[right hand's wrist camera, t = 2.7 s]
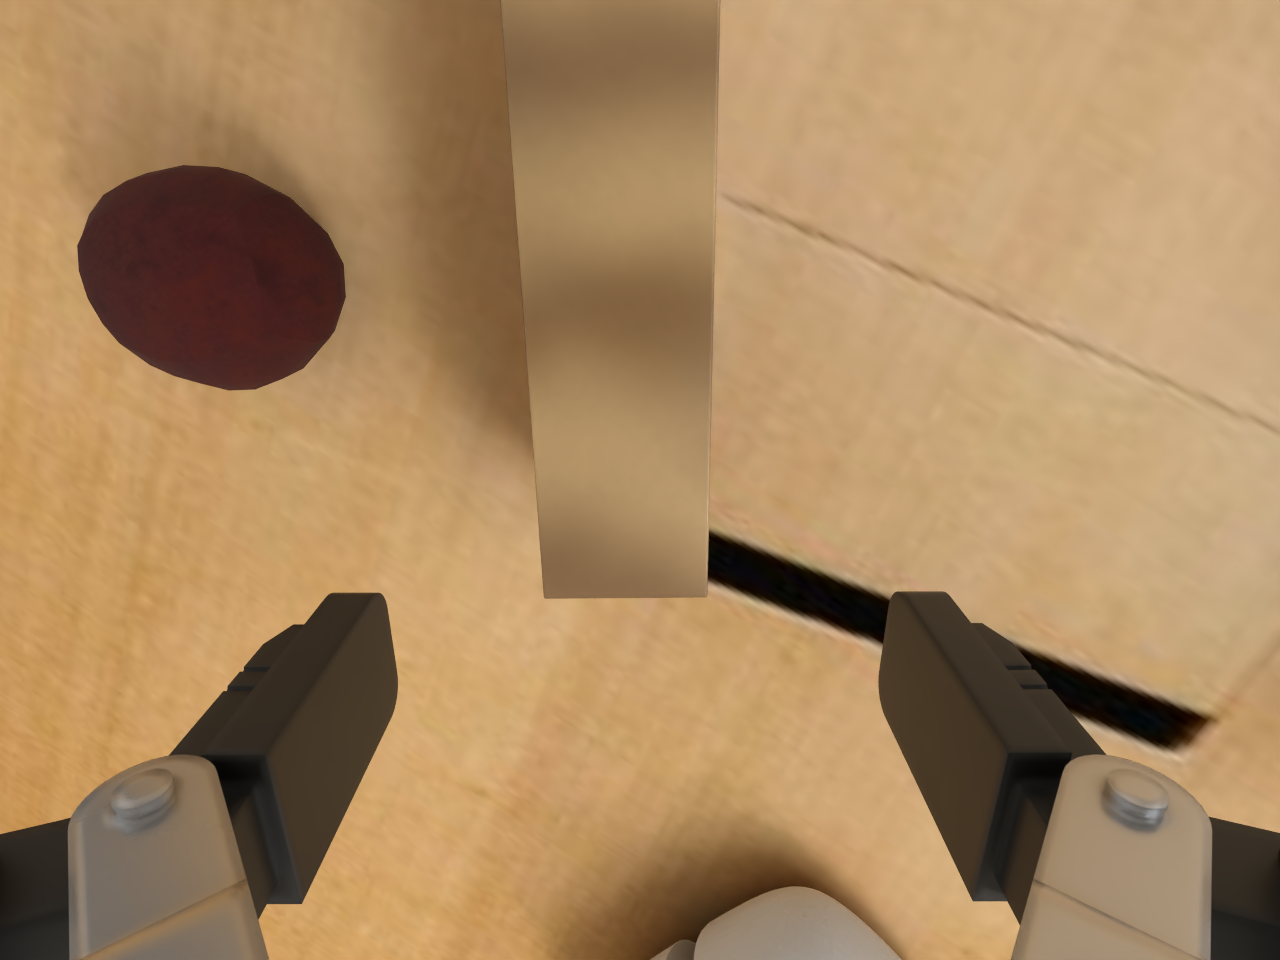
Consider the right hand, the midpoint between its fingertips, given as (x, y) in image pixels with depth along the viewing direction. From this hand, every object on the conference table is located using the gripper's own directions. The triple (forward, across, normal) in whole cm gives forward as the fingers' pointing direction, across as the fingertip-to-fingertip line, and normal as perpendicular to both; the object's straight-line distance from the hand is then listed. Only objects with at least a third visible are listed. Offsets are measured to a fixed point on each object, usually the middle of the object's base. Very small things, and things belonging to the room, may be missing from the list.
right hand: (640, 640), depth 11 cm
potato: (+19, -14, +4) cm, 24 cm away
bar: (+19, -1, +8) cm, 21 cm away
